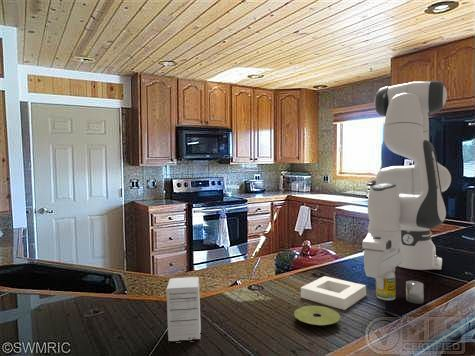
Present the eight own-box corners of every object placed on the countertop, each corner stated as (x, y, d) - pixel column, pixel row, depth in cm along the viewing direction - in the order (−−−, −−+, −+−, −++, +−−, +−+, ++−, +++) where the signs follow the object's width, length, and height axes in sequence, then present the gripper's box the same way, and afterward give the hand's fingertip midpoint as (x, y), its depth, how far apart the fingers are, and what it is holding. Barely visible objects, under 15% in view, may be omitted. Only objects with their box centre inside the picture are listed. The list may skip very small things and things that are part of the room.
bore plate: (324, 285, 109) (324, 276, 109) (366, 295, 99) (366, 285, 99) (300, 297, 99) (300, 287, 99) (344, 310, 89) (344, 299, 89)
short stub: (409, 296, 97) (408, 279, 97) (425, 300, 94) (425, 282, 94) (404, 300, 94) (403, 283, 94) (421, 304, 91) (420, 287, 91)
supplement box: (171, 328, 81) (169, 277, 81) (201, 326, 82) (199, 276, 82) (167, 343, 74) (165, 288, 74) (200, 341, 74) (198, 286, 74)
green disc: (286, 317, 86) (286, 309, 86) (322, 309, 90) (322, 302, 90) (310, 336, 75) (310, 328, 75) (350, 327, 79) (350, 319, 79)
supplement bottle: (382, 292, 100) (382, 261, 100) (399, 298, 96) (398, 265, 96) (372, 296, 97) (371, 264, 97) (389, 302, 93) (388, 268, 93)
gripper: (386, 232, 106) (387, 274, 106) (359, 243, 91) (360, 292, 92) (407, 234, 102) (408, 278, 102) (382, 246, 87) (383, 297, 87)
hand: (385, 285), depth 97 cm, fingers closed on supplement bottle, 5 cm apart
